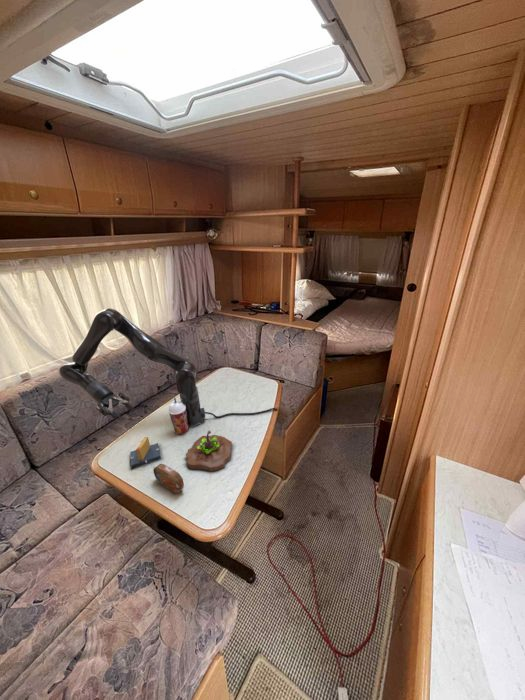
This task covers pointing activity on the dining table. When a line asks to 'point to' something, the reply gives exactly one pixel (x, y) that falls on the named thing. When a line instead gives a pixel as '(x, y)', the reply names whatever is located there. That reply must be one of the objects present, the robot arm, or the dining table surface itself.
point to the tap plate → (150, 456)
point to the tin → (168, 478)
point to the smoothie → (178, 416)
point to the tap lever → (143, 448)
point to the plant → (209, 453)
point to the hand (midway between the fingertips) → (125, 413)
